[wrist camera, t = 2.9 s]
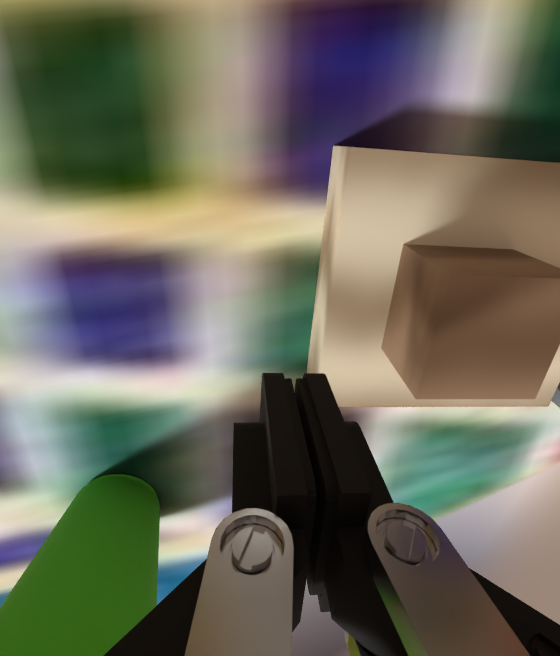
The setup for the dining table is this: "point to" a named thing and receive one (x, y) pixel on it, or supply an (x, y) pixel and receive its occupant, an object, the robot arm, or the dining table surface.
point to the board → (416, 229)
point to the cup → (88, 574)
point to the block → (472, 322)
